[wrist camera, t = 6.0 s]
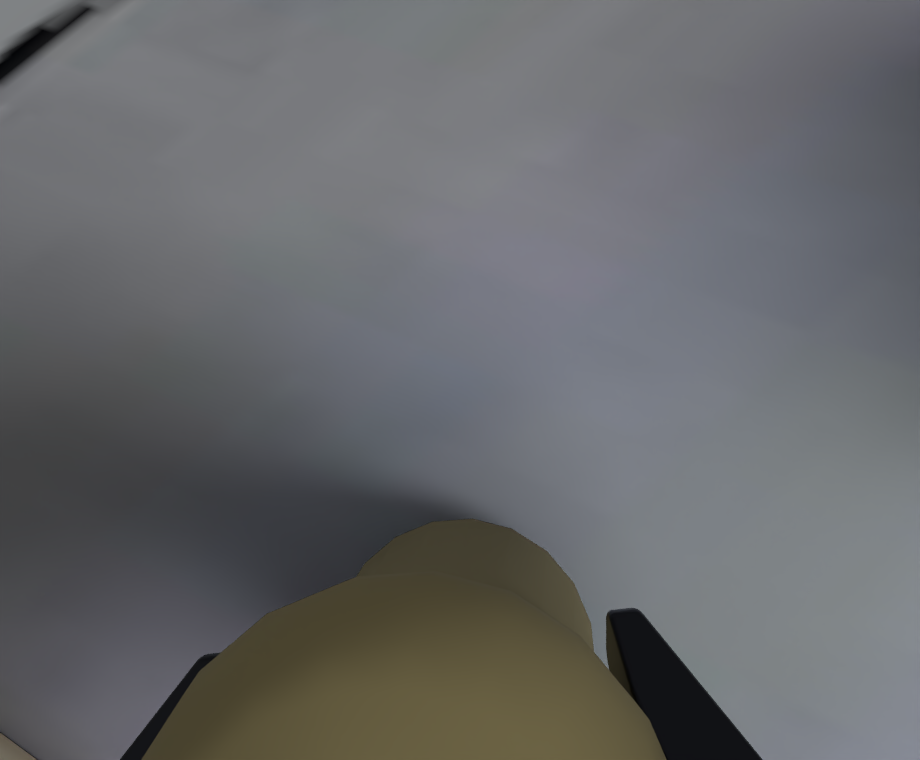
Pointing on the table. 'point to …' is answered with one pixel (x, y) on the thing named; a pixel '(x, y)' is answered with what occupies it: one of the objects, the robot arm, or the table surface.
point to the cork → (418, 666)
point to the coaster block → (12, 750)
